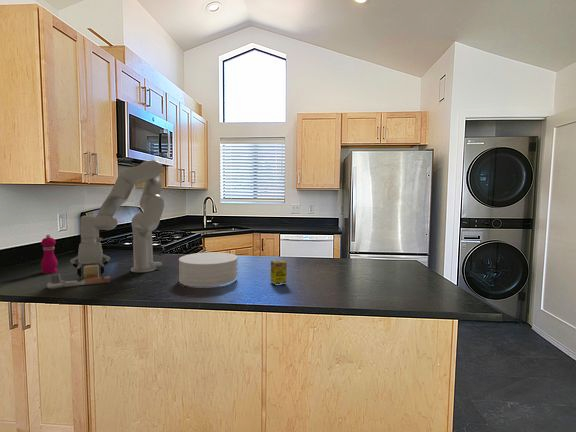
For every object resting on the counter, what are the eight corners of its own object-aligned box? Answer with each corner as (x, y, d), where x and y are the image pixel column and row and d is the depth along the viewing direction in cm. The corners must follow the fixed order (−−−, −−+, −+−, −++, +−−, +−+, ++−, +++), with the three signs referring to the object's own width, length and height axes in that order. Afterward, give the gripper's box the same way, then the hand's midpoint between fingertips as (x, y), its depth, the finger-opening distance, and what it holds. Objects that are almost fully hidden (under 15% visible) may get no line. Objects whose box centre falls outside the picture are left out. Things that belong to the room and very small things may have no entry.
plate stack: (199, 293, 137) (199, 267, 136) (168, 280, 156) (168, 257, 155) (248, 280, 157) (249, 257, 156) (216, 270, 176) (216, 250, 175)
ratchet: (109, 279, 155) (109, 268, 155) (109, 282, 149) (109, 271, 149) (48, 285, 143) (48, 273, 143) (46, 289, 138) (45, 277, 137)
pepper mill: (49, 274, 162) (47, 235, 161) (37, 273, 164) (35, 235, 162) (61, 270, 169) (60, 234, 168) (50, 270, 171) (48, 233, 169)
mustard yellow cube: (98, 276, 160) (98, 264, 160) (98, 279, 155) (97, 267, 155) (84, 277, 157) (84, 265, 157) (83, 280, 152) (83, 268, 152)
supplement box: (275, 286, 148) (275, 263, 147) (270, 283, 153) (270, 260, 152) (286, 284, 150) (287, 262, 149) (281, 281, 156) (281, 259, 155)
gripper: (110, 238, 162) (111, 271, 163) (69, 240, 154) (70, 275, 155) (110, 240, 156) (111, 275, 157) (67, 242, 147) (68, 279, 149)
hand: (91, 275), depth 156 cm, fingers open, 8 cm apart
